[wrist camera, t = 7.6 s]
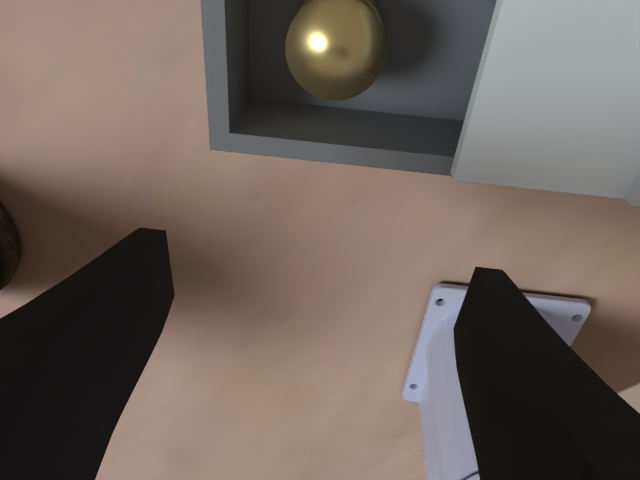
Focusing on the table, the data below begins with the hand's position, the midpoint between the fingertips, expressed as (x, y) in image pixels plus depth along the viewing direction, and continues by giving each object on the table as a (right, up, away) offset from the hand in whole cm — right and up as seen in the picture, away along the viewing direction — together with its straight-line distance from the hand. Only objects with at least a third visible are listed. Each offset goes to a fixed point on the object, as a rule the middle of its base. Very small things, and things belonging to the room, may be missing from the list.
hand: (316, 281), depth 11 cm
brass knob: (+1, +8, +6) cm, 10 cm away
